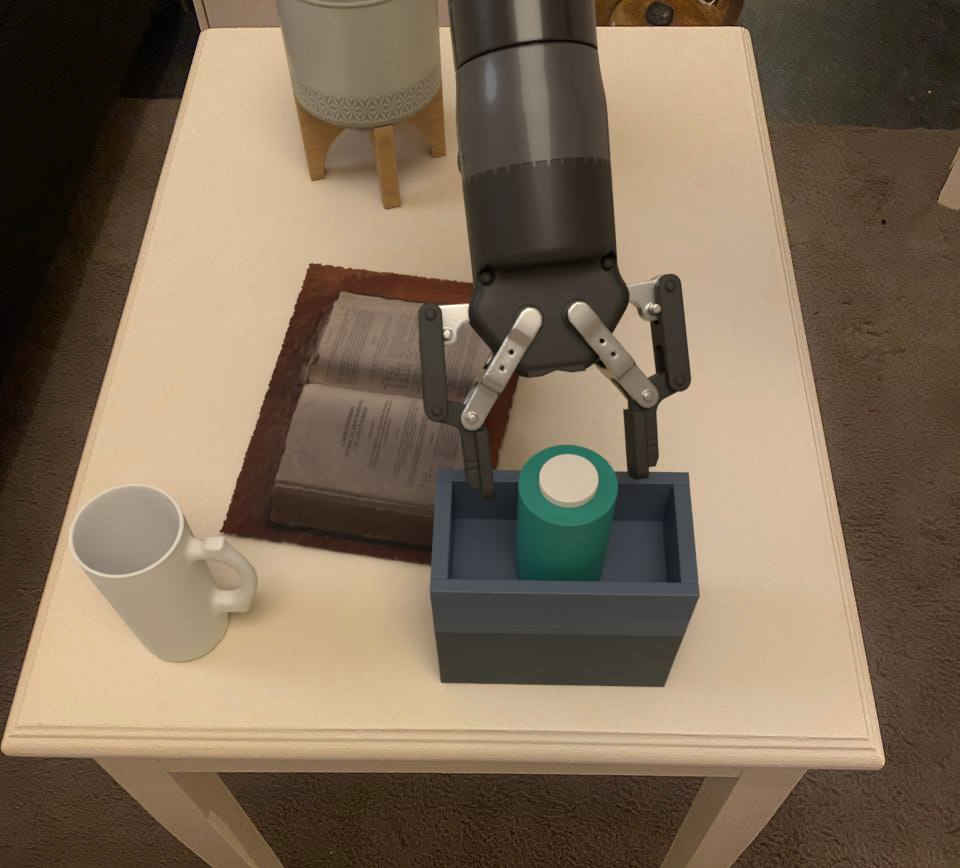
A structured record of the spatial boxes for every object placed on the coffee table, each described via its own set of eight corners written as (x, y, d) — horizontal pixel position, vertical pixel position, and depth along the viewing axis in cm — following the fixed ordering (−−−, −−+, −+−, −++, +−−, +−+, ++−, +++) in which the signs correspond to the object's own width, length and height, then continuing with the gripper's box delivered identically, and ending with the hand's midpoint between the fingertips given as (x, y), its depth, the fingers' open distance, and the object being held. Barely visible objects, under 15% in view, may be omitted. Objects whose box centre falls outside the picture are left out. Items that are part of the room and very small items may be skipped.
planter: (297, 133, 91) (255, -76, 75) (427, 108, 92) (413, -101, 76) (323, 221, 85) (283, 16, 69) (461, 194, 87) (453, -13, 71)
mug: (127, 664, 65) (55, 575, 54) (147, 581, 68) (83, 481, 58) (271, 670, 65) (227, 581, 54) (285, 585, 68) (246, 486, 57)
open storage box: (657, 578, 68) (688, 471, 57) (664, 687, 64) (700, 596, 53) (446, 575, 68) (436, 468, 57) (440, 683, 64) (429, 591, 53)
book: (219, 539, 70) (206, 506, 66) (310, 267, 82) (303, 225, 78) (484, 584, 69) (487, 553, 65) (536, 303, 81) (542, 263, 77)
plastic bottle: (523, 522, 60) (528, 430, 52) (608, 536, 59) (625, 445, 51) (507, 595, 57) (510, 510, 49) (595, 610, 57) (612, 526, 49)
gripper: (395, 169, 43) (440, 516, 48) (697, 135, 44) (710, 480, 49) (393, 193, 50) (433, 493, 55) (653, 164, 51) (669, 462, 56)
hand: (563, 487), depth 52 cm, fingers open, 8 cm apart
